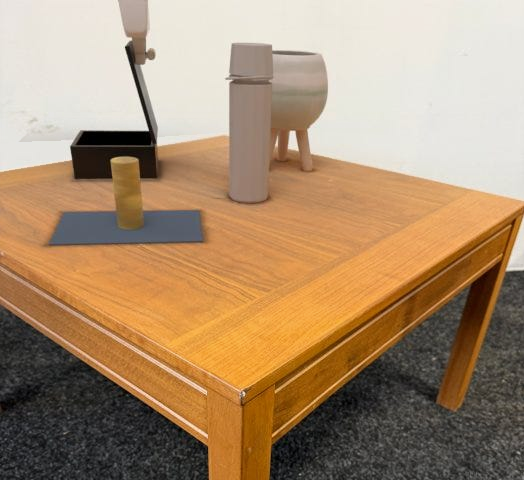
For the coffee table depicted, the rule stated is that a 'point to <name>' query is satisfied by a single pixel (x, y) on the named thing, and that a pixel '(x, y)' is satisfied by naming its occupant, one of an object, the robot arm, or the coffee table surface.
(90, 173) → the box
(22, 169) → the coffee table surface
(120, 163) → the yellow cylinder
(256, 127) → the water bottle
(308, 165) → the planter
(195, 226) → the mat
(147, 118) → the black box lid
